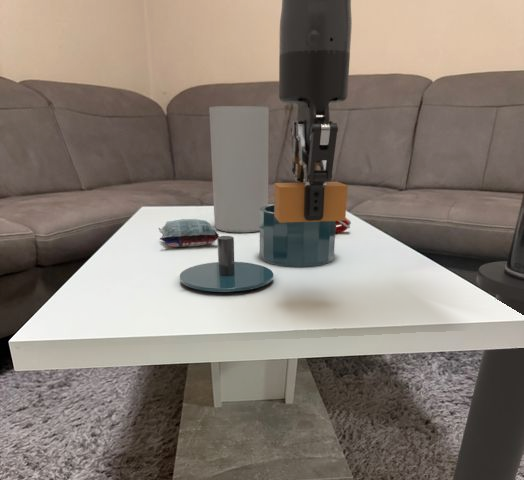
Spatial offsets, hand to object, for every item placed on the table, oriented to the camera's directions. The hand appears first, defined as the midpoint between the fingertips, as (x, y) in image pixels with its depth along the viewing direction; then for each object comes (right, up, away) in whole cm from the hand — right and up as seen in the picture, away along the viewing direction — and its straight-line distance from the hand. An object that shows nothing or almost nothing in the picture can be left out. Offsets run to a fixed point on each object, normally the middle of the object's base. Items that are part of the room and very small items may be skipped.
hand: (308, 215), depth 56 cm
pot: (0, 0, +27) cm, 27 cm away
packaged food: (-20, +5, +36) cm, 42 cm away
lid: (-11, -5, +14) cm, 18 cm away
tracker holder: (+8, +9, +45) cm, 46 cm away
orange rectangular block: (0, 0, 0) cm, 0 cm away
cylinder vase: (-11, +12, +51) cm, 53 cm away
